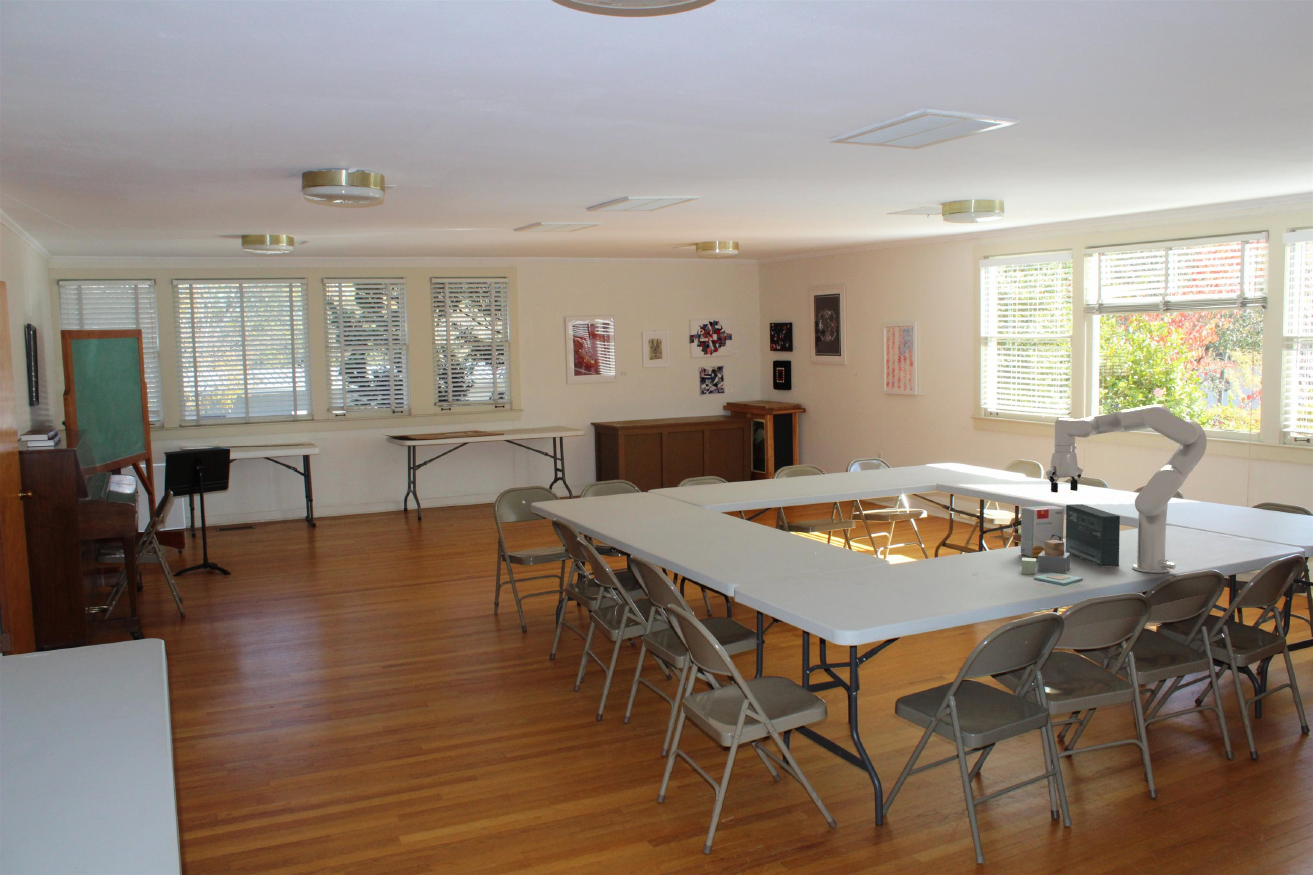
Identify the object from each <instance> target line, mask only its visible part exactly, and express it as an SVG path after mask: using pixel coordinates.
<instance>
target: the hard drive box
mask: <svg viewBox="0 0 1313 875" xmlns="http://www.w3.org/2000/svg"><path fill="white" fill-rule="evenodd" d="M1020 514H1021V521H1020V522H1021V523H1020V524H1021V526H1020V527H1021V528H1020V554H1021V555H1024V556H1027V557H1029V558H1038V555H1039V554H1040V553H1041V552H1042V551H1045V541H1049V540H1058V541H1061V542H1064V525H1065V524H1064V521H1065V518H1064V517H1065V508H1064V507H1060V506H1056V505H1041V506H1040V505H1039V506H1022V507H1021V512H1020Z"/></svg>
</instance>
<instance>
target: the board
mask: <svg viewBox="0 0 1313 875" xmlns="http://www.w3.org/2000/svg"><path fill="white" fill-rule="evenodd" d="M1033 578H1034V580H1035V579H1036V580H1035V581H1040V580H1042V581H1041V582H1046V583H1052V584H1055V583H1056V585H1060V586H1067V585H1071V584H1074V583H1077V582H1080V581H1083V577H1080V576H1073V575H1070V574H1064V573H1060V572H1053V571H1050V572H1048V573H1045V574H1041V575H1037V576H1034V577H1033Z"/></svg>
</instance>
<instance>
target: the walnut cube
mask: <svg viewBox="0 0 1313 875" xmlns="http://www.w3.org/2000/svg"><path fill="white" fill-rule="evenodd" d="M1064 552H1065V542H1064V541H1063V542H1061V541H1058V540H1049V541H1045V554H1048V555H1051V556H1059V555H1064Z"/></svg>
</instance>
